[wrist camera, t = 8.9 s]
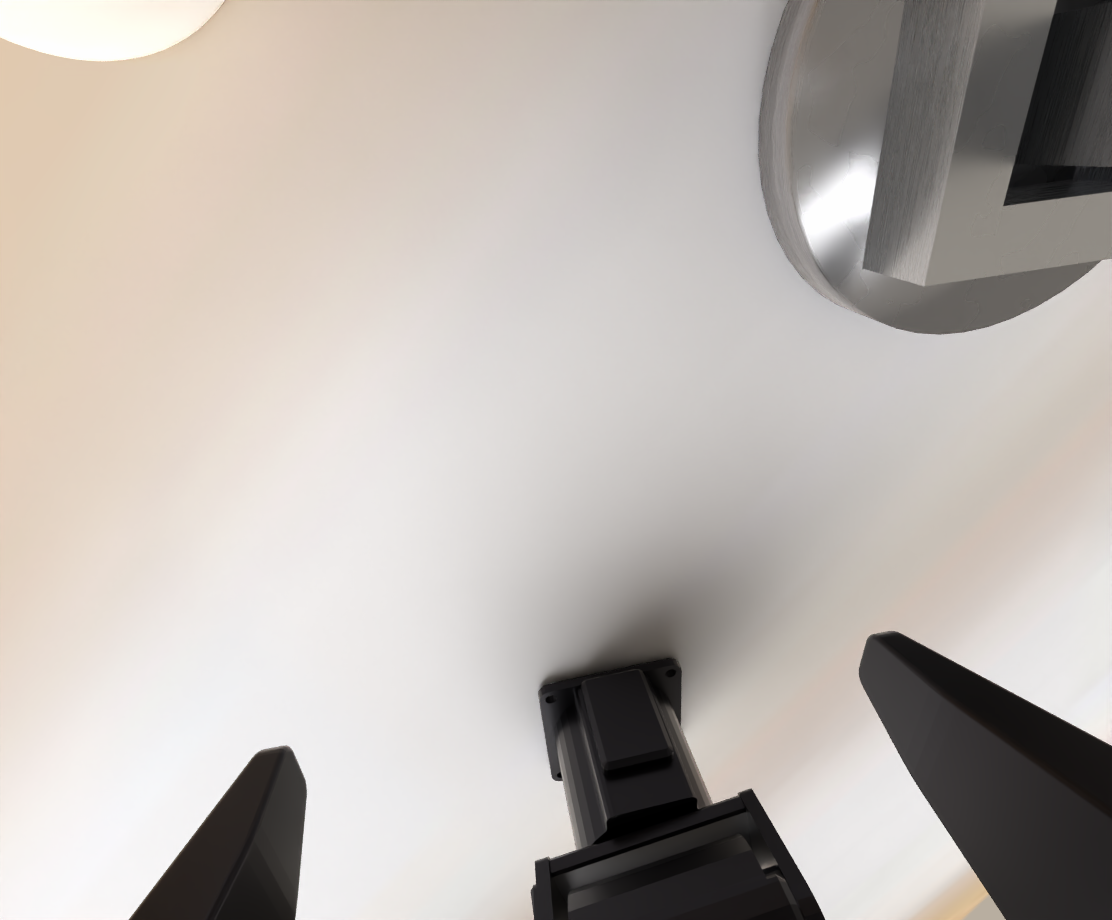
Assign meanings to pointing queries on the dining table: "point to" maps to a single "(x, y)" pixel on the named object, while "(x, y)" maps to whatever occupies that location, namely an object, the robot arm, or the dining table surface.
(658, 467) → the dining table surface
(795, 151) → the rosette
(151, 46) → the mug
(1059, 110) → the wedge pin
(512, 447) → the dining table surface
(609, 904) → the robot arm
